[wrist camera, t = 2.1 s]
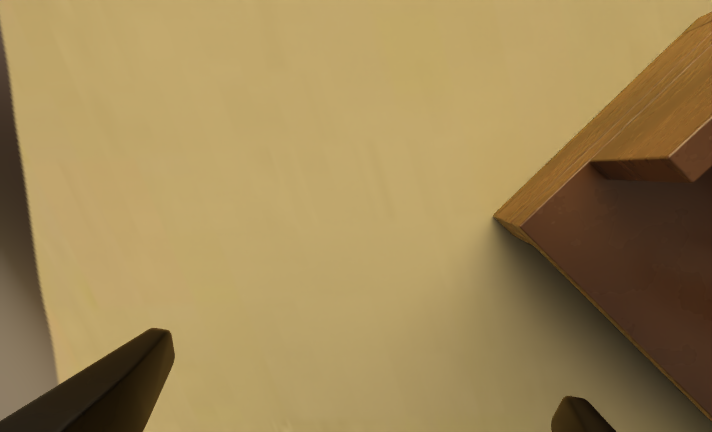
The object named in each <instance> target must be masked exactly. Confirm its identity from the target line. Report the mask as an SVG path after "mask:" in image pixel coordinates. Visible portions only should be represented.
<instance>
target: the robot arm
mask: <svg viewBox="0 0 712 432" xmlns="http://www.w3.org/2000/svg"><path fill="white" fill-rule="evenodd" d="M174 358H175V353H174V347H173V341H172V335H171V333H170V331H169V330H165V329H159V328H151V329H149V330H147V331H145V332H144V333H142V334H140V335H139V336H137V337H136V338H134V339H132V340H131V341H129V342H128V343H126V344H124V345H123V346H121V347H119V348H118V349H116V350H115V351H113V352H111V353H110V354H108V355H106V356H105V357H103V358H102V359H100V360H98V361H97V362H95V363H93V364H92V365H90V366H89V367H87V368H85V369H84V370H82V371H81V372H79V373H77V374H76V375H74V376H72V377H71V378H69V379H68V380H66V381H64V382H63V383H61V384H59V385H58V386H56V387H55V388H53V389H51V390H50V391H48V392H47V393H45V394H43V395H42V396H40V397H38V398H37V399H35V400H34V401H32V402H30V403H29V404H27V405H25V406H24V407H22V408H21V409H19V410H17V411H16V412H14V413H13V414H11V415H9V416H8V417H6V418H4V419H3V420H1V421H0V432H143V430H144V428H145V426H146V424H147V422H148V420H149V417H150V415H151V413H152V411H153V408H154V406H155V404H156V402H157V399H158V397H159V395H160V393H161V390H162V388H163V386H164V384H165V381H166V379H167V377H168V375H169V372H170V370H171V368H172V365H173V363H174ZM551 430H552V432H616V431H615V430H614V429H613V428H612V427H611V425H610V424H609V423H608V422H607V421H606V420H605V419H604V418H603V417H602V416H601V415H600V414H599V413H598V411H597V410H596V409H595V408H594V407H593V406H592V405H591V404H590V403H589V402H588V401H587V400H585V399H583V398H579V397H572V396H565V397H564V398H563V399H562V401H561V403H560V405H559V406H558V408H557V410H556V412H555V414H554V416H553V418H552V422H551Z"/></svg>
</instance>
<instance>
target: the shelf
mask: <svg viewBox="0 0 712 432" xmlns="http://www.w3.org/2000/svg"><path fill="white" fill-rule="evenodd" d="M493 216H494V217H495V218H496V219H497V220H498V221H499V222H500V223H501V224H502V225H503V226H504V227H505V228H506V229H507V230H508V231H509V232H510V233H511V234H512V235H513V236H515V237H517V238H519V239H521V240H523V241H525V242H527V243H529V244H531V245H533V246H535V247H536V248H537V249H538V250H539V251H540V252H541V253H542V254H543V255H544V256H545V257H546V258H547V259H548V260H549V261H550V262H551V263H552V264H553V265H554V266H555V267H556V268H557V269H558V270H559V271H560V272H561V273H562V274H563V275H564V276H565V277H566V278H567V279H568V280H569V281H570V282H571V283H572V284H573V285H574V286H575V287H576V288H577V289H578V290H579V291H580V292H581V293H582V294H583V295H584V296H585V297H586V298H587V299H588V300H589V301H590V302H591V303H592V304H593V305H594V306H595V307H596V308H597V309H598V310H599V311H600V312H601V313H602V314H603V315H604V316H605V317H606V318H607V319H608V320H609V321H610V322H611V323H612V324H613V325H615V326H616V327H617V328H618V329H619V330H620V331H621V332H622V333H623V334H624V335H625V336H626V337H627V338H628V339H629V340H630V341H631V342H632V343H633V344H634V345H635V346H636V347H637V348H638V349H639V350H640V351H641V352H642V353H643V354H644V355H645V356H646V357H647V358H648V359H649V360H650V361H651V362H652V363H653V364H654V365H655V366H656V367H657V368H658V369H659V370H660V371H661V372H662V373H663V374H664V375H665V376H666V377H667V378H668V379H669V380H670V381H671V382H672V383H673V384H674V385H675V386H676V387H677V388H678V389H679V390H680V391H681V392H682V393H683V394H684V395H685V396H686V397H687V398H688V399H689V400H690V401H691V402H692V403H693V404H694V405H695V406H697V407H698V408H699V409H700V410H701V411H702V412H703V413H704V414H705V415H706V416H707V417H708V418H709V419H710V420H711V421H712V12H710V13H708V14H706V15H704V16H702V17H700V18H698V19H697V20H696V21H695V22H694V23H693V24H692V25H691V26H690V27H689V28H688V29H687V30H686V31H684V32H683V33H682V35H681V36H679V37H678V38H677V39H676V40H675V41H674V42H673V43H672V44H671V45H670V46H669V47H668V48H667V49H666V50H665V51H663V52H662V53H661V54H660V55H659V56H658V57H657V58H656V59H655V60H654V61H653V62H652V63H651V64H650V65H649V66H648V67H647V68H646V69H645V70H644V71H643V72H642V73H641V74H640V75H638V76H637V77H636V78H635V79H634V80H633V81H632V82H631V83H630V84H629V85H628V86H627V87H626V88H625V89H624V90H623V91H622V92H621V93H620V94H619V95H618V96H617V97H616V98H615V99H613V100H612V101H611V102H610V103H609V104H608V105H607V106H606V107H605V108H604V109H603V110H602V111H601V112H600V113H599V114H598V115H597V116H596V117H595V118H594V119H593V120H592V121H591V122H590V123H588V124H587V125H586V126H585V127H584V128H583V129H582V130H581V131H580V132H579V133H578V134H577V135H576V136H575V137H574V138H573V139H572V140H571V141H570V142H569V143H568V144H567V145H566V146H565V147H563V148H562V149H561V150H560V151H559V152H558V153H557V154H556V155H555V156H554V157H553V158H552V159H551V160H550V161H549V162H548V163H547V164H546V165H545V166H544V167H543V168H542V169H541V170H540V171H538V172H537V173H536V174H535V175H534V176H533V177H532V178H531V179H530V180H529V181H528V182H527V183H526V184H525V185H524V186H523V187H522V188H521V189H520V190H519V191H518V192H517V193H516V194H515V195H513V196H512V197H511V198H510V199H509V200H508V201H507V202H506V203H505V204H504V205H503V206H502V207H501V208H500V209H499V210H498V211H497V212H496V213H495V214H494V215H493Z"/></svg>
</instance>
